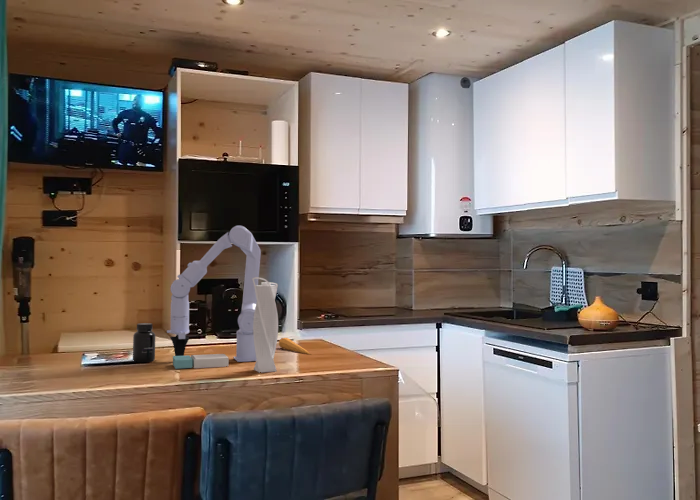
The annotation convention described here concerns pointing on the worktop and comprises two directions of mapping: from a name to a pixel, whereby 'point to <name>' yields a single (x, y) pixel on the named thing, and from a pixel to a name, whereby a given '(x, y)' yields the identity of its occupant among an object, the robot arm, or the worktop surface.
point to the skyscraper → (265, 326)
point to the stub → (182, 362)
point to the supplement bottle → (144, 343)
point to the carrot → (291, 346)
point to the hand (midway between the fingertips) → (179, 358)
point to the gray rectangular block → (209, 360)
